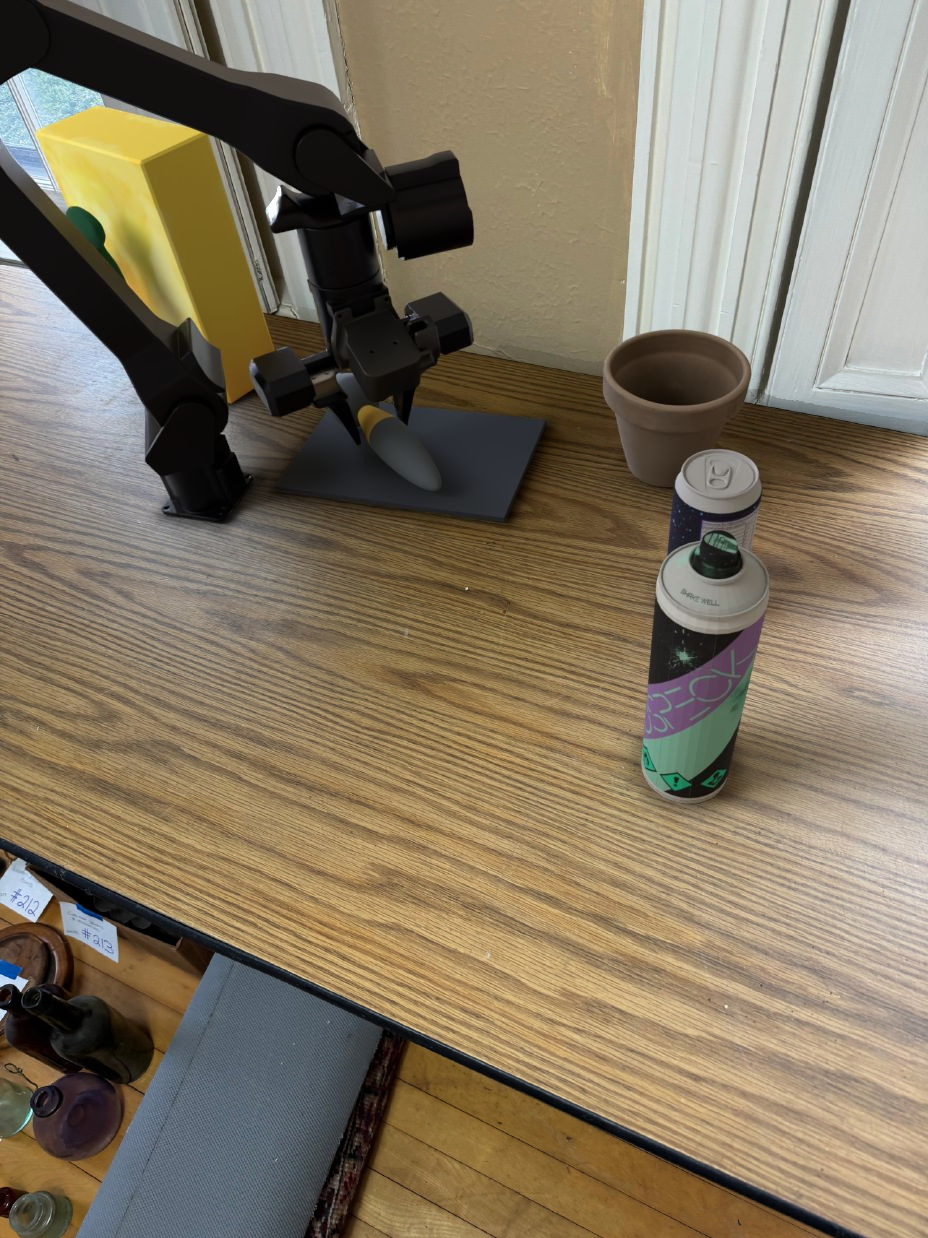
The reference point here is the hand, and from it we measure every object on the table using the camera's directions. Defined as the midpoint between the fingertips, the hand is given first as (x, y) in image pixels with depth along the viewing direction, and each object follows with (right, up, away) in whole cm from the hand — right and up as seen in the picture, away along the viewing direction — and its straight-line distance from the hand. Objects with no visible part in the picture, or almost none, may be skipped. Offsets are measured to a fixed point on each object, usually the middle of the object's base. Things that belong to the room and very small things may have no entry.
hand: (380, 433), depth 79 cm
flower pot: (+26, -4, -4) cm, 26 cm away
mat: (+3, -2, +1) cm, 4 cm away
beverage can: (+26, -16, -14) cm, 33 cm away
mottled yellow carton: (-23, +9, +15) cm, 29 cm away
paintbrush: (+1, -1, +1) cm, 2 cm away
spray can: (+22, -27, -24) cm, 42 cm away
